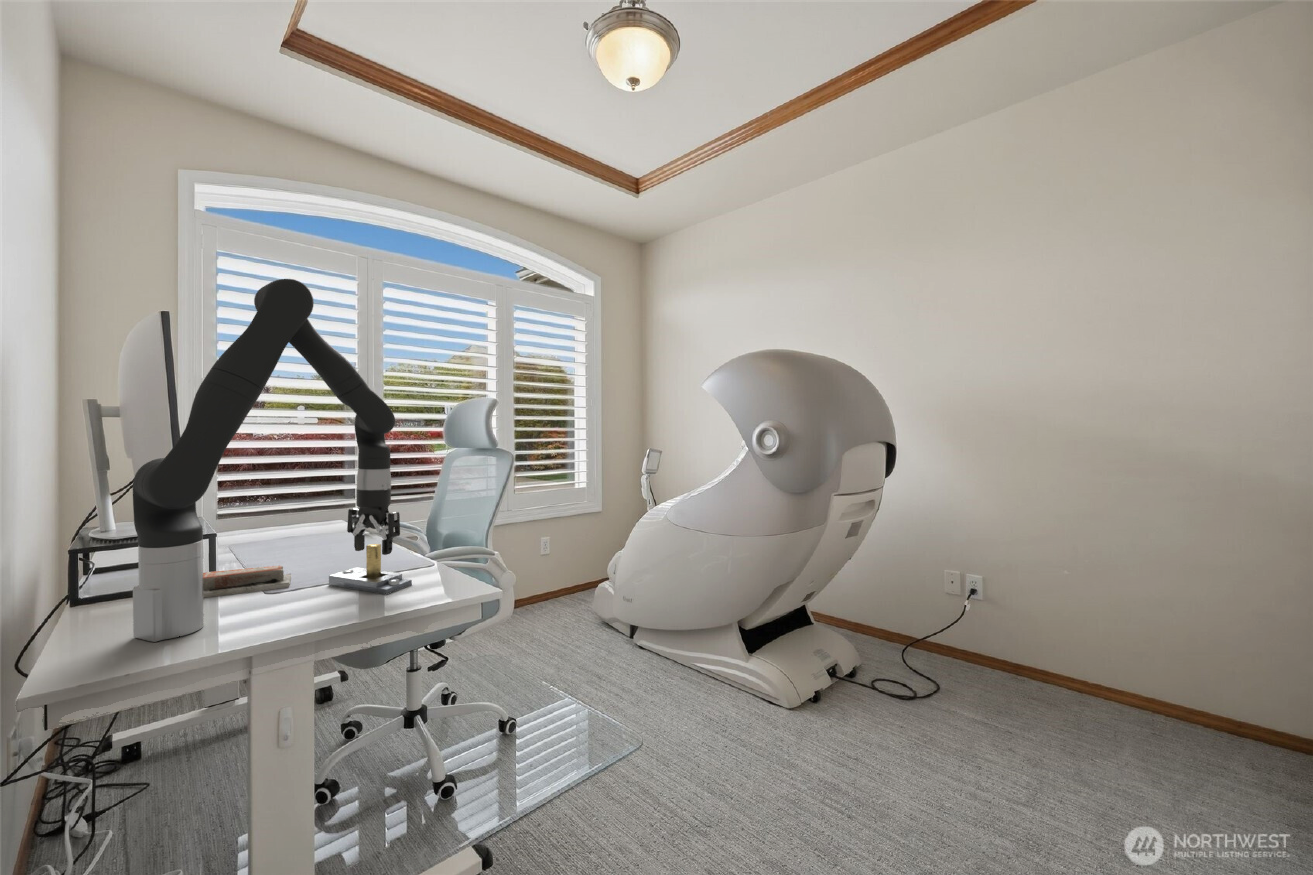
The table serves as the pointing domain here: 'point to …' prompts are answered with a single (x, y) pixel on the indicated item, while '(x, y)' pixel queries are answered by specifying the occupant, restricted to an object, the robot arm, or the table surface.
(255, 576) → the packaged product
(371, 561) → the brass pin
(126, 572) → the table surface
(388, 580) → the grey plate with window
